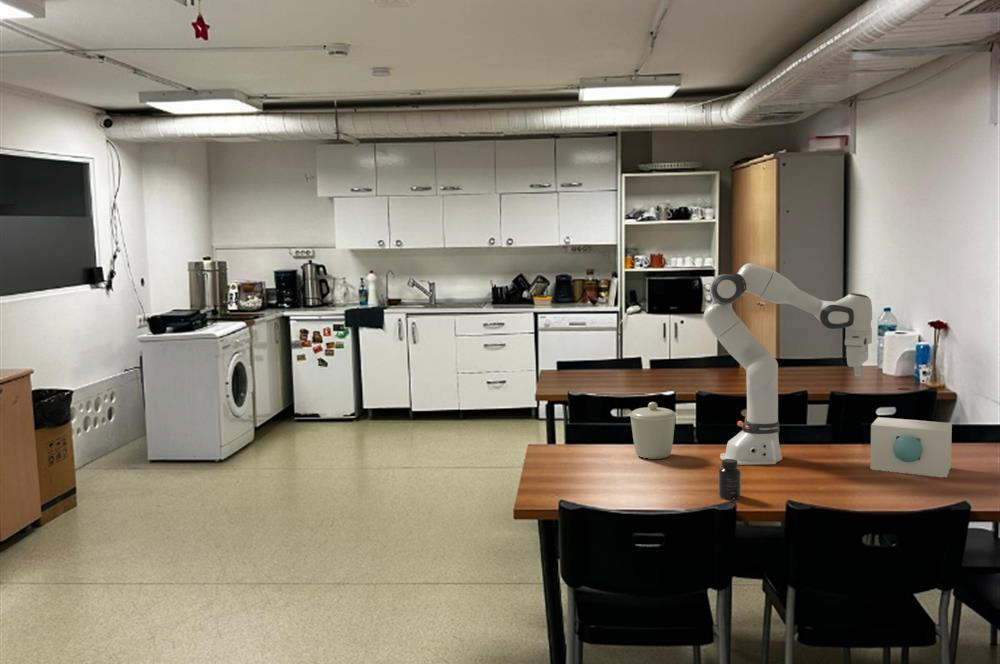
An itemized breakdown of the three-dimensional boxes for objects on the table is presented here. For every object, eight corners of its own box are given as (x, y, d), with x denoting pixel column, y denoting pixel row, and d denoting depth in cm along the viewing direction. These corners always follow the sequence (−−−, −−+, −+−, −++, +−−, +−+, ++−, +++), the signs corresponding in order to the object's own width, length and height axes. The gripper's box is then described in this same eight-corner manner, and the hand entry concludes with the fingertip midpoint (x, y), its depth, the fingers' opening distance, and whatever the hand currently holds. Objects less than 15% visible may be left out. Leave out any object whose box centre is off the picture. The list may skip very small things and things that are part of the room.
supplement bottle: (715, 494, 286) (715, 458, 285) (736, 493, 287) (736, 457, 285) (722, 500, 279) (722, 463, 278) (743, 499, 280) (743, 462, 279)
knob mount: (946, 477, 296) (947, 431, 294) (870, 469, 309) (871, 424, 307) (950, 467, 308) (951, 423, 306) (877, 460, 321) (877, 417, 319)
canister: (674, 463, 325) (673, 407, 322) (625, 461, 331) (624, 406, 328) (680, 451, 342) (679, 398, 339) (633, 449, 348) (633, 397, 345)
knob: (921, 463, 298) (922, 437, 297) (892, 460, 303) (893, 435, 302) (926, 454, 310) (927, 429, 309) (898, 451, 315) (899, 426, 314)
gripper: (854, 334, 328) (854, 371, 330) (843, 341, 311) (843, 379, 313) (873, 335, 325) (872, 372, 326) (862, 341, 308) (861, 380, 309)
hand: (857, 375), depth 319 cm, fingers closed
